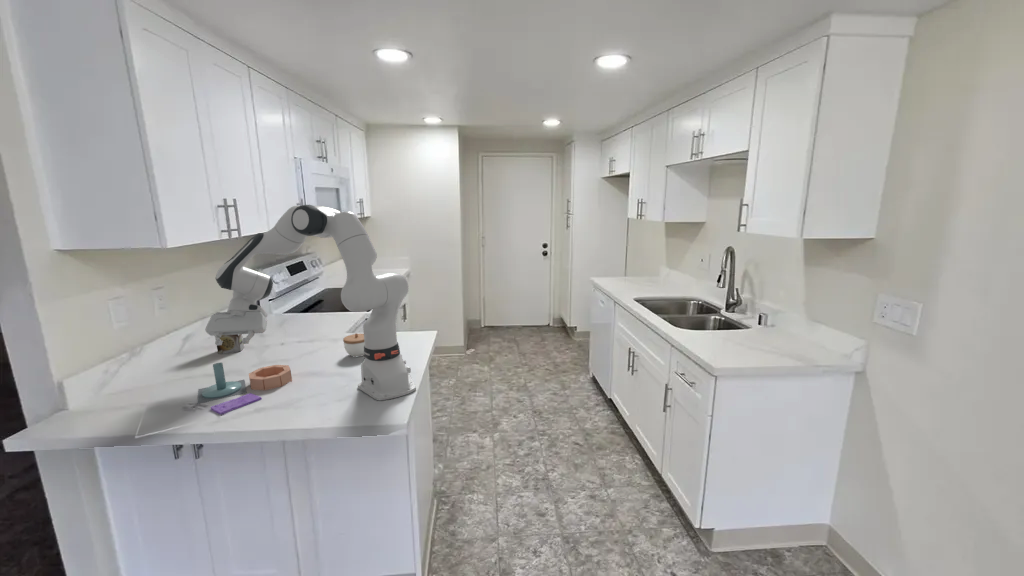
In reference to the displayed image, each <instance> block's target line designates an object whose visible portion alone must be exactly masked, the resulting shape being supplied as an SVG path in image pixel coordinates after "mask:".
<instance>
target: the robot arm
mask: <svg viewBox="0 0 1024 576" xmlns="http://www.w3.org/2000/svg"><path fill="white" fill-rule="evenodd" d="M308 237H319V238H324V239H325V238H328V239H329V238H333V240H334V242H335V244H336V247H337V249H338V251H339V253H340V255H341V257H342V260H343V263H344V265H345V269H346V281H345V283H344V285H343V286H342V288H341V291H340V300H341V303H342V304H343V306H344V307H345V308H346V309H347V310H348V311H350V312H353V313H354V312H355V313H357V312H367V311H371V313H370V314H369V316H368V317H367V319H366V320H365V321H364V323H363V327H362V331H363V334H364V342H365V346H364V356H363V357H364V360H363V362H361V363H360V369H361V371H360V372H361V382H360V383H358V384H357V389H358V390H360V391H362V392H363V393H365V394H367V395H368V396H370V397H371V398H373V399H374V400H376V401H385V400H390V399H392V400H393V399H396V398H398V397H403V396H405V395H408V394H409V395H410V394H411V393H413V392H415V391H416V390H417V386H416V384H415V382H414V380H413V377H412V376H411V373H412V371H411V366H406V364H407V361H406V360H404V359H403V355H402V354H401V351H400V345H399V342H398V337H397V318H398V313H399V309H400V307H401V304H402V302H403V300H404V299H405V297H406V296H407V295H408V294H409V293H408V292H409V283H408V281H407V278H406V277H405V276H404V275H403V274H400V273H397V272H395V273H394V272H386V273H381V274H377V275H374V272H373V265H374V264H375V263H376V260H377V259H378V255H377V254H378V253H377V251H376V249H375V247H374V245H373V243H372V241H371V238H370V235H369V234H368V232H367V230H366V228H365V226H364V225H363V223H362V222H361V220H360V219H359V218H358V216H357V215H356V214H355V213H354V212H352V211H348V210H347V211H346V210H345V211H342V210H341V209H338V208H332V207H328V206H323V205H313V204H303V205H302V204H301V205H292V206H291V207H290V208H288V209H287V210H286V211H285V212H284V213H283V214H282V215H281V217H280V218H279V219H278V221H277V222H276V223H275V225H274V226H273V227H272V228H271V229H268V230H267V231H264V232H258V233H257V234H255V235H253V236H252V237H251V238H250V239H249V240H248V241H247V242H246V243H245V244H244V245H243V246H242V247H241V248H240V249H239V250H238V251H237V252H236V253H235V254H234V255H233V256H232V257H231V258H229V259H228V260H227V261H226V262H224V263H223V264H222V265H221V266H220V268H219V269H218V270H217V273H216V274H215V281H216V284H218V286H219V287H220V288H222V289H225V290H229V291H232V298H231V299H230V302H229V303H228V307H227V310H226V311H219V312H215V313H213V314H212V315H210V319H209V320H208V322H207V324H206V327H205V332H206V333H207V334H208V335H209V336H211V337H214V338H215V342H214V344H215V346H217V345H222V342H223V341H222V340H221V339H220V338H219V337H221V336H222V335H236V334H242V335H246V337H243V341H242V342H243V343H244V345H248V344H249V343H250V340H251V339H252V338H254V336H255V334H264V333H265V332H266V331H267V326H268V319H267V317H268V312H267V311H266V310H265V309H264V307H262V306H261V305H259V304H257V302H258V301H262V300H264V299H266V298H267V297H269V296H270V295H271V293H272V290H273V285H274V281H273V278H272V277H271V275H268V274H265V273H263V272H260V271H258V270H254V269H252V268H249V267H246V266H245V265H246V264H247V263H248V262H249V261H250V260H251V259H252V258H253V257H254V256H256V255H259V254H260V255H261V254H268V255H269V254H271V255H279V256H284V255H291V254H294V253H296V252H297V251H298V250H299V249H300V248H301V247H302V246H303V244H304V243H305V242H306V240H307V238H308Z"/></svg>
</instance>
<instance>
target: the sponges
mask: <svg viewBox="0 0 1024 576" xmlns="http://www.w3.org/2000/svg"><path fill="white" fill-rule="evenodd" d="M261 400H262V397H261V396H259V395H256V394H253V393H251V392H249V393H245V395H243V394H242V395H241V396H239V397H236V398H232V399H230V400H226V401H223V402H221V403H218V404H215V405H211V406H210V410H211V411H213V412H214V413H217V414H219V415H224V414H228V413H230V412H232V411H235V410H237V409H240V408H243V407H244V406H247V405H250V404H253V403H255V402H258V401H261Z"/></svg>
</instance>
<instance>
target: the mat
mask: <svg viewBox="0 0 1024 576" xmlns="http://www.w3.org/2000/svg"><path fill="white" fill-rule="evenodd" d="M235 382H240V383H241V386H242V388H241V389H240V390H239V391H237V392H236V393H233V394H231V395H228V396H224V397H220V398H204V397H203V396H202V391H203V390H204V389H206V388H207V387H208V386H207V387H201V388H198V391H197V401H196V402H197V405H201V404H204V403H209V402H213V401H218V400H222V399H226V398H230V397H235V396H239V395H243V394H248V393H247V392H248V391H247V387H246V381H245V379H240V380H235Z"/></svg>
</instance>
